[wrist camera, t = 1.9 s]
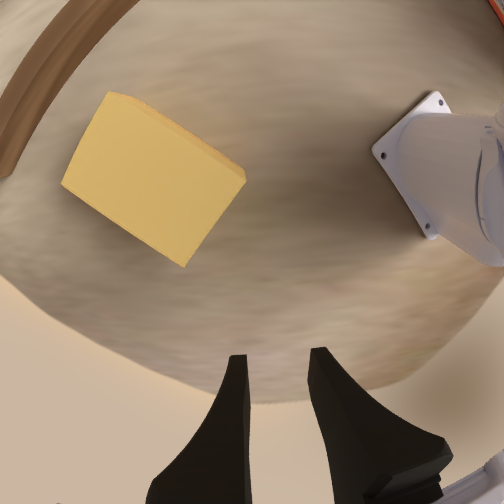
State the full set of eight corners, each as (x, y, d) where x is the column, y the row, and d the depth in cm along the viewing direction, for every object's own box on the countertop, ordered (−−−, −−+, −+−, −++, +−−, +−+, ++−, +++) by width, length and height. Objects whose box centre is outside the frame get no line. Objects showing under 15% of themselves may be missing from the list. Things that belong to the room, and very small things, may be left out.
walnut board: (218, -57, 11) (215, -86, 7) (11, 174, 17) (-20, 185, 13) (200, -67, 11) (195, -95, 7) (0, 160, 16) (-31, 169, 13)
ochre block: (244, 169, 19) (246, 181, 15) (193, 238, 21) (183, 267, 16) (135, 97, 16) (108, 91, 12) (93, 171, 18) (60, 184, 14)
